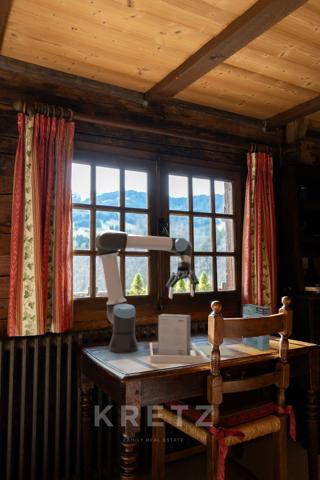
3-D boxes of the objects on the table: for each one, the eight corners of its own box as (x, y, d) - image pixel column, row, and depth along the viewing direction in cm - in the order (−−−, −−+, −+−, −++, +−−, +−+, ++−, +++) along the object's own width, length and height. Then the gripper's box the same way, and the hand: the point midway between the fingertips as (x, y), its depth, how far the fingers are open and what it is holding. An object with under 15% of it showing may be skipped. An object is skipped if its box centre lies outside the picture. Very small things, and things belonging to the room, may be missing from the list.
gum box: (242, 343, 212) (242, 304, 214) (249, 342, 214) (249, 303, 216) (262, 351, 194) (262, 308, 196) (270, 350, 196) (270, 307, 197)
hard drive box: (190, 354, 184) (191, 315, 185) (187, 358, 177) (187, 317, 178) (161, 351, 189) (162, 313, 190) (157, 355, 182) (157, 315, 183)
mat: (206, 357, 180) (206, 355, 180) (200, 347, 200) (200, 345, 200) (234, 357, 180) (234, 355, 180) (225, 347, 200) (225, 346, 200)
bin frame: (151, 362, 168) (151, 356, 168) (149, 348, 196) (149, 342, 196) (202, 362, 169) (202, 356, 170) (193, 348, 197) (193, 343, 198)
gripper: (206, 264, 213) (204, 297, 201) (168, 270, 224) (164, 301, 213) (200, 258, 208) (198, 291, 196) (162, 264, 219) (158, 296, 207)
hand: (181, 296), depth 204 cm, fingers open, 13 cm apart
